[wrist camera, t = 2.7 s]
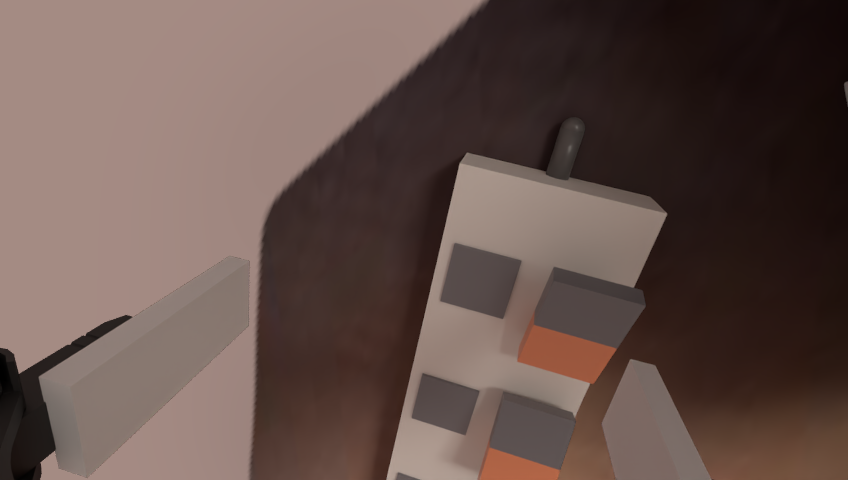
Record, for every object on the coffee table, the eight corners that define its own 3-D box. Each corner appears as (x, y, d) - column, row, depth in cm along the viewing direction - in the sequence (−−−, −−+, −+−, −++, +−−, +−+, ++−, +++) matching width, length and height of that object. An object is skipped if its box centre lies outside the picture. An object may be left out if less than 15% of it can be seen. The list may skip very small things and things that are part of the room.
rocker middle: (503, 391, 25) (503, 399, 24) (572, 412, 24) (575, 421, 23) (476, 481, 26) (475, 493, 25) (542, 504, 25) (544, 516, 24)
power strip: (480, 95, 23) (472, 99, 19) (674, 138, 21) (705, 152, 18) (384, 501, 36) (368, 549, 32) (501, 542, 35) (498, 597, 31)
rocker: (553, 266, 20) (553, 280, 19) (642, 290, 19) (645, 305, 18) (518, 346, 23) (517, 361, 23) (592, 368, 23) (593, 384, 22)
